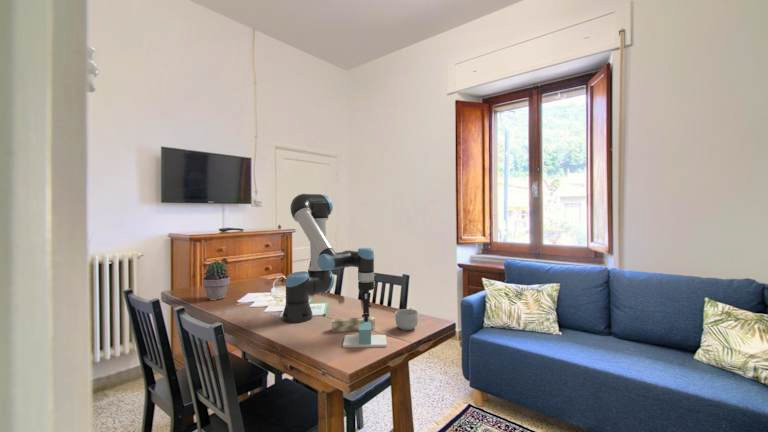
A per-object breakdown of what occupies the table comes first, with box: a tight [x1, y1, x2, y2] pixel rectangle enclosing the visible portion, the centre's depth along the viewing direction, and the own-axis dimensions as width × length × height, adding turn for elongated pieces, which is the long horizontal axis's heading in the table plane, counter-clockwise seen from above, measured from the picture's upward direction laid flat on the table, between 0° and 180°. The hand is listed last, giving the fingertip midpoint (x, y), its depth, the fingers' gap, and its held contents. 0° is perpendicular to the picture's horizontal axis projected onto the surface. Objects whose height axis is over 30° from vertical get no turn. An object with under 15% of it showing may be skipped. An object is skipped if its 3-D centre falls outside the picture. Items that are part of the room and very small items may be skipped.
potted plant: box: [200, 257, 231, 300], centre depth 218 cm, size 18×20×25 cm
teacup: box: [394, 308, 419, 331], centre depth 167 cm, size 14×11×8 cm
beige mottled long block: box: [331, 316, 376, 333], centre depth 164 cm, size 20×4×5 cm, turn 101°
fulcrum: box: [342, 322, 388, 348], centre depth 148 cm, size 18×11×7 cm, turn 92°
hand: (366, 325), depth 164 cm, fingers open, 13 cm apart
